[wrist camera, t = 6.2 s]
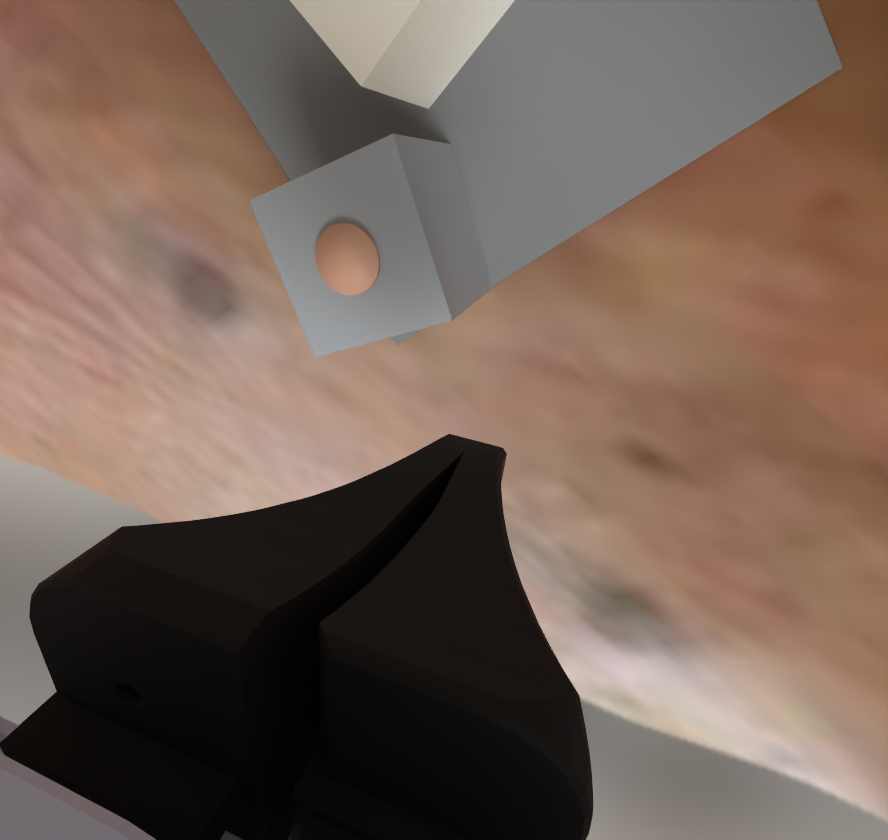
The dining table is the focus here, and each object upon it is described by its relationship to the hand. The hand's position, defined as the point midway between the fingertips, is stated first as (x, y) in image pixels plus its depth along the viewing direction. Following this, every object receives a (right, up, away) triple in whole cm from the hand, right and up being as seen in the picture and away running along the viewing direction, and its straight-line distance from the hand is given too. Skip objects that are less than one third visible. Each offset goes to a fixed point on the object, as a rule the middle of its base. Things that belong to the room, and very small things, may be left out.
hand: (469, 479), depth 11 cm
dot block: (-2, +8, +8) cm, 11 cm away
